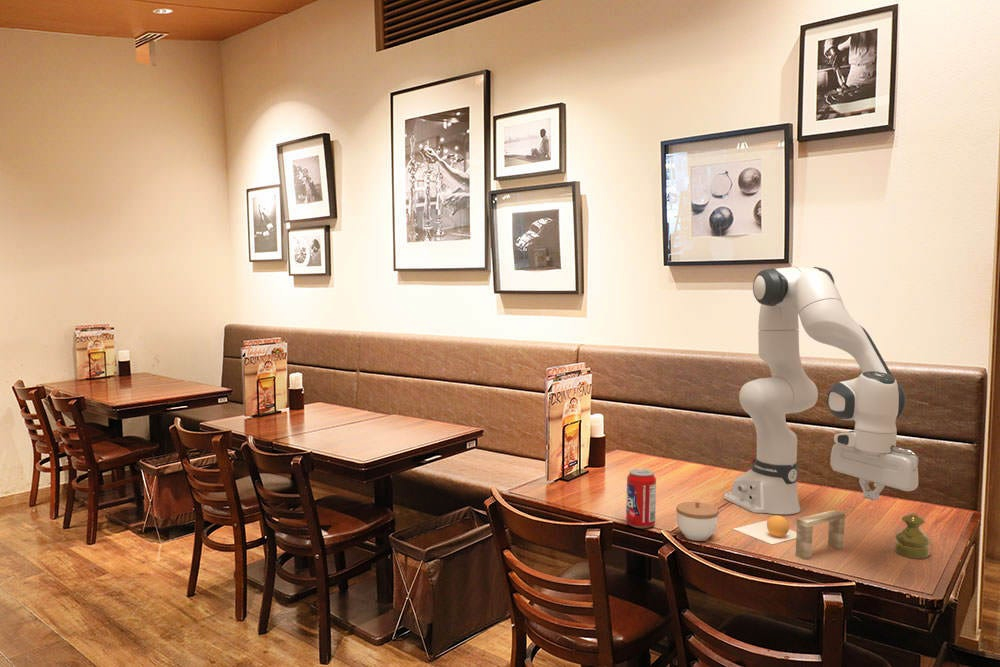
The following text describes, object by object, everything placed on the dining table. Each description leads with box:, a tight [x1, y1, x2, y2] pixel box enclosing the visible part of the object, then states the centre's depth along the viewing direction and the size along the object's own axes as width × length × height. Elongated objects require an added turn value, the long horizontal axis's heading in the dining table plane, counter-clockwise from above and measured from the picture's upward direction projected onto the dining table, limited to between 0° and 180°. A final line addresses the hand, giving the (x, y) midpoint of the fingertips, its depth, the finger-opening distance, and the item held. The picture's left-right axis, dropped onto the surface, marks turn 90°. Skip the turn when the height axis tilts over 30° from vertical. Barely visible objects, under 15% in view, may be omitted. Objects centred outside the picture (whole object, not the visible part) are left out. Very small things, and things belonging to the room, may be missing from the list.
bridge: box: [795, 509, 846, 561], centre depth 181 cm, size 3×14×9 cm, turn 120°
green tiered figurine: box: [894, 513, 931, 560], centre depth 180 cm, size 7×7×10 cm
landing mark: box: [732, 520, 797, 546], centre depth 195 cm, size 13×13×1 cm
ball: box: [767, 515, 790, 537], centre depth 192 cm, size 6×6×6 cm
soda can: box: [625, 468, 657, 529], centre depth 200 cm, size 8×8×15 cm
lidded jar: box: [675, 500, 719, 542], centre depth 191 cm, size 11×11×9 cm
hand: (870, 498), depth 172 cm, fingers closed
